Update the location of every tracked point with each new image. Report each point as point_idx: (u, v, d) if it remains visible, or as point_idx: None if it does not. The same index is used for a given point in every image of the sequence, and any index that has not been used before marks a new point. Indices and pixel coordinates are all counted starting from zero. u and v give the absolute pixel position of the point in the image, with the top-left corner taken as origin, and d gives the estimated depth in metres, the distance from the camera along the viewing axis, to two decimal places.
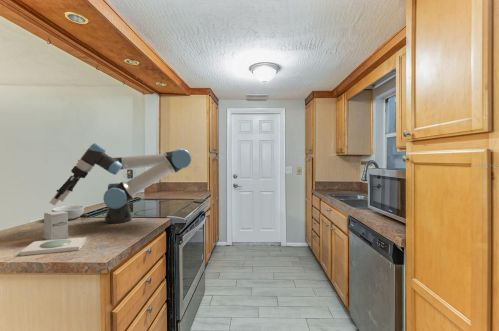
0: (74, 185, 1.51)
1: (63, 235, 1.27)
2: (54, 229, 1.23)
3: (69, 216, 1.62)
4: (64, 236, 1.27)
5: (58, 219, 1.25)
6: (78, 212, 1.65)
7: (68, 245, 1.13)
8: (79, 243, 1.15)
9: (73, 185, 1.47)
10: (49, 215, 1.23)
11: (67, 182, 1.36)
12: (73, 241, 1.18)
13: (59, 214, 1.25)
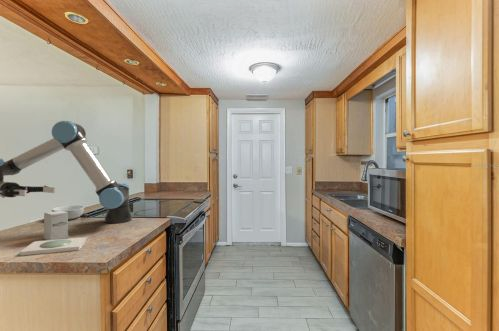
0: None
1: (63, 235, 1.27)
2: (54, 229, 1.23)
3: (69, 216, 1.62)
4: (64, 236, 1.27)
5: (59, 219, 1.25)
6: (78, 212, 1.65)
7: (68, 245, 1.13)
8: (79, 243, 1.15)
9: (31, 187, 1.35)
10: (49, 215, 1.23)
11: (2, 193, 1.25)
12: (73, 241, 1.18)
13: (59, 214, 1.25)
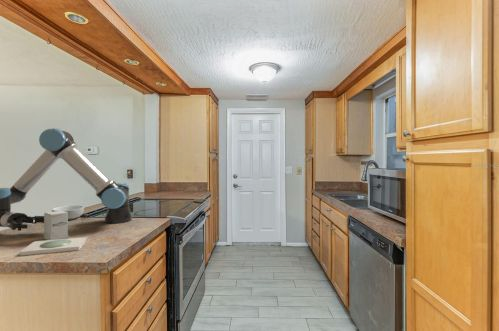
0: None
1: (63, 235, 1.27)
2: (54, 229, 1.23)
3: (69, 216, 1.62)
4: (64, 236, 1.27)
5: (58, 219, 1.25)
6: (78, 212, 1.65)
7: (68, 245, 1.13)
8: (79, 243, 1.15)
9: (39, 217, 1.34)
10: (49, 215, 1.23)
11: (10, 226, 1.23)
12: (73, 241, 1.18)
13: (59, 214, 1.25)
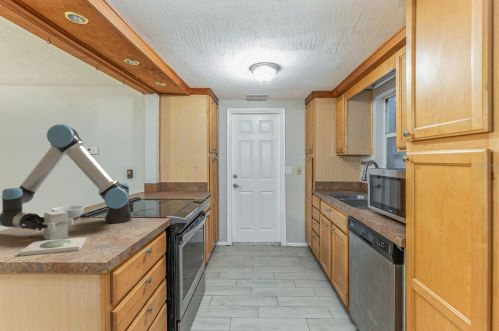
0: None
1: (63, 235, 1.27)
2: (54, 229, 1.23)
3: (69, 216, 1.62)
4: (64, 236, 1.27)
5: (58, 219, 1.25)
6: (78, 212, 1.65)
7: (68, 245, 1.13)
8: (79, 243, 1.15)
9: None
10: (49, 215, 1.23)
11: (27, 226, 1.22)
12: (73, 241, 1.18)
13: (59, 214, 1.25)
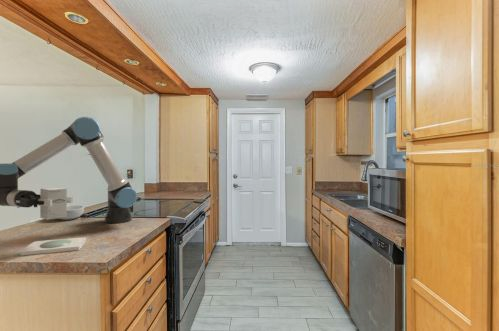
0: None
1: (62, 214, 1.14)
2: (51, 206, 1.11)
3: (69, 216, 1.62)
4: (62, 215, 1.15)
5: (56, 196, 1.12)
6: (78, 212, 1.65)
7: (68, 245, 1.13)
8: (79, 243, 1.15)
9: None
10: (46, 191, 1.11)
11: (21, 203, 1.10)
12: (73, 241, 1.18)
13: (57, 190, 1.13)
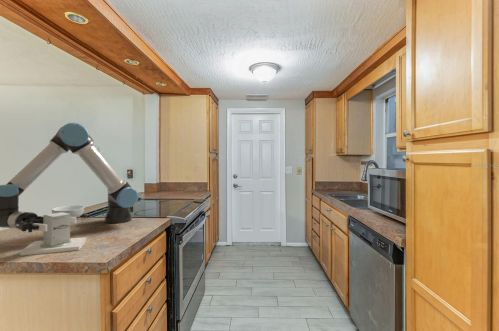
0: None
1: (65, 240, 1.15)
2: (55, 233, 1.11)
3: None
4: (66, 240, 1.15)
5: (60, 222, 1.13)
6: (78, 212, 1.65)
7: (68, 245, 1.13)
8: (79, 243, 1.15)
9: None
10: (49, 217, 1.11)
11: (19, 227, 1.09)
12: (73, 241, 1.18)
13: (60, 216, 1.13)
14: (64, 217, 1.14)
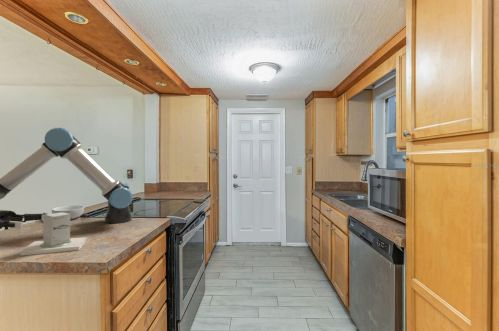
0: (37, 214, 1.26)
1: (65, 240, 1.15)
2: (55, 233, 1.11)
3: None
4: (66, 240, 1.15)
5: (60, 222, 1.13)
6: (78, 212, 1.65)
7: (68, 245, 1.13)
8: (79, 243, 1.15)
9: (28, 215, 1.23)
10: (49, 217, 1.11)
11: None
12: (73, 241, 1.18)
13: (60, 216, 1.13)
14: (64, 217, 1.14)
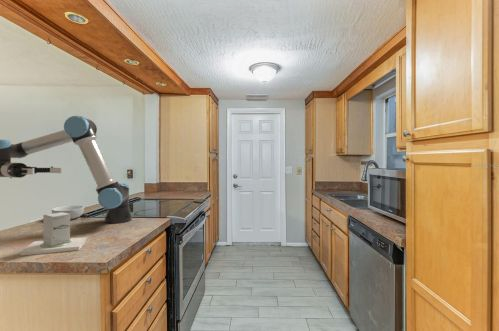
0: None
1: (65, 240, 1.15)
2: (55, 233, 1.11)
3: None
4: (66, 240, 1.15)
5: (60, 222, 1.13)
6: (78, 212, 1.65)
7: (68, 245, 1.13)
8: (79, 243, 1.15)
9: (38, 168, 1.37)
10: (49, 217, 1.11)
11: (10, 172, 1.27)
12: (73, 241, 1.18)
13: (60, 216, 1.13)
14: (64, 217, 1.14)
